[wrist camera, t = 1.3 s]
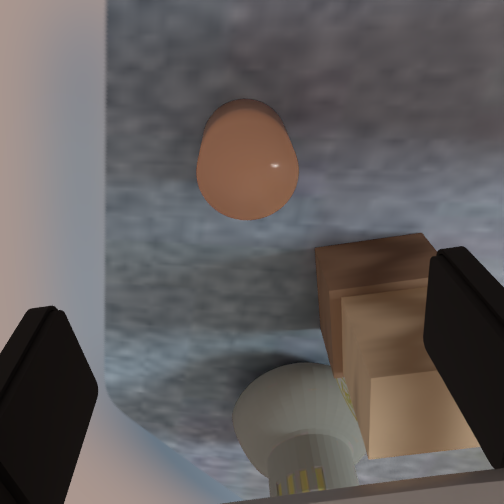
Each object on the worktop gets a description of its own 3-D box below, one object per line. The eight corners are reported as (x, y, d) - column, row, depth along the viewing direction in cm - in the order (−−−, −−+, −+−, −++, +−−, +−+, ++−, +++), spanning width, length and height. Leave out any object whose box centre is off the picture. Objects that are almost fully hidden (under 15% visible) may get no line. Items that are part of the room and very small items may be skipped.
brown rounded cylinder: (282, 92, 23) (294, 115, 19) (290, 176, 26) (302, 212, 21) (194, 105, 23) (186, 131, 19) (211, 187, 26) (207, 226, 22)
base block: (420, 231, 28) (454, 274, 24) (414, 314, 32) (443, 364, 28) (314, 246, 28) (329, 291, 24) (320, 327, 32) (334, 378, 28)
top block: (447, 284, 24) (506, 362, 19) (437, 361, 27) (485, 446, 22) (341, 297, 24) (370, 378, 19) (342, 372, 28) (368, 459, 22)
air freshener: (368, 412, 37) (410, 538, 28) (282, 445, 39) (297, 573, 30) (315, 328, 32) (347, 451, 23) (219, 371, 34) (216, 499, 25)
